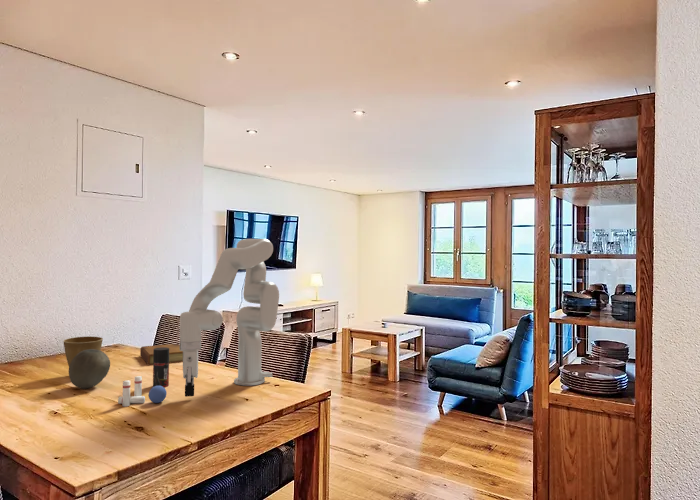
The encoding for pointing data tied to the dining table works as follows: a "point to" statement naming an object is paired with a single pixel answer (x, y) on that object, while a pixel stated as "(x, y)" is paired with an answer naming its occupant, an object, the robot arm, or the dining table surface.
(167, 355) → the deodorant
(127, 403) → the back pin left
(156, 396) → the ball
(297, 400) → the dining table surface
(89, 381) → the grey rock
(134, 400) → the front pin
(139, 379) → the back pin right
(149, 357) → the diary
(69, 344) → the plant pot
